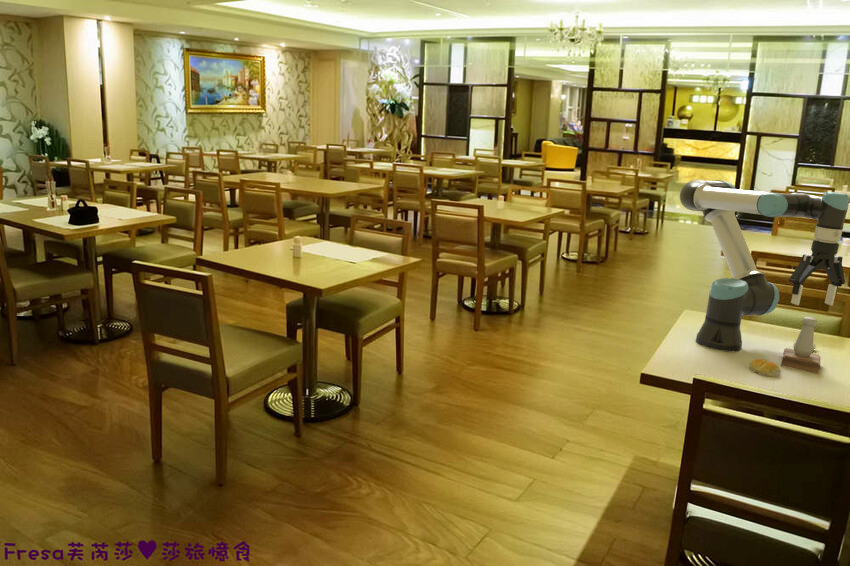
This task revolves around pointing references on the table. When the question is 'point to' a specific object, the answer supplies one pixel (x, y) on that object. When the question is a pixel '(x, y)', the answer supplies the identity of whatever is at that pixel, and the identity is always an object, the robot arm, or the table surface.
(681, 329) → the table surface
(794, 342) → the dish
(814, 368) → the stand
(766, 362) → the bread roll
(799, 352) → the salt shaker
